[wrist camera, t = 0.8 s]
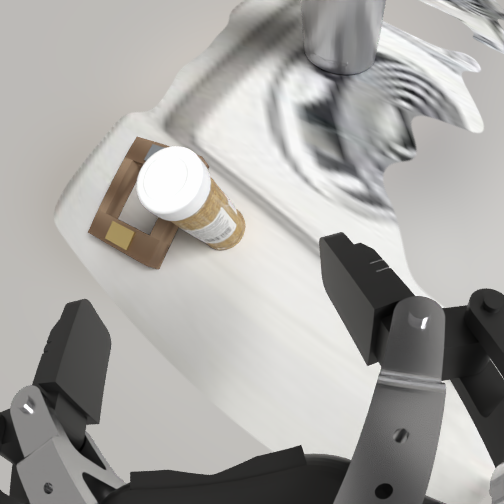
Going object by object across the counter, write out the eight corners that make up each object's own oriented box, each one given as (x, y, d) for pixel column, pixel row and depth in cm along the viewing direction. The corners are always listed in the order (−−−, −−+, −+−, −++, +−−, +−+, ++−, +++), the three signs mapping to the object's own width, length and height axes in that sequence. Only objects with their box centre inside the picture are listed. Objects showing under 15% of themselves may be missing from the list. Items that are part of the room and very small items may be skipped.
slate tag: (153, 145, 31) (152, 144, 31) (177, 152, 30) (175, 151, 30) (144, 161, 31) (143, 159, 31) (167, 169, 30) (166, 167, 30)
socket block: (146, 146, 34) (136, 136, 32) (209, 166, 32) (201, 156, 30) (100, 236, 33) (87, 232, 31) (159, 269, 31) (147, 266, 29)
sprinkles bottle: (243, 203, 31) (199, 135, 18) (248, 247, 30) (204, 205, 17) (199, 211, 32) (134, 154, 19) (203, 254, 31) (133, 219, 18)
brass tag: (114, 221, 30) (112, 220, 30) (136, 232, 30) (134, 232, 29) (106, 238, 30) (104, 238, 30) (127, 250, 30) (126, 250, 29)
